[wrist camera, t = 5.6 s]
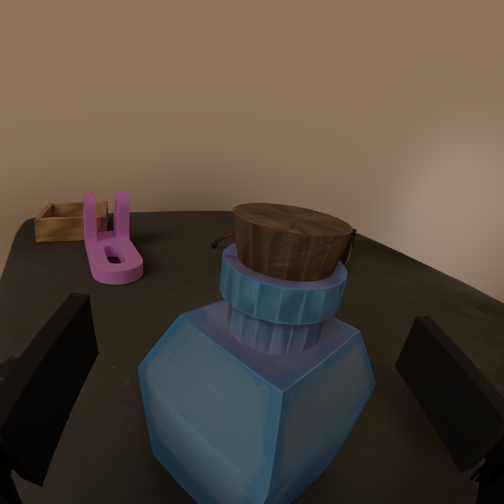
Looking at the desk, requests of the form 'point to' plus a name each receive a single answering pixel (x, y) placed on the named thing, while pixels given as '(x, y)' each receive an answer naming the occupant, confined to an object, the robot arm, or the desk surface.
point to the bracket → (111, 243)
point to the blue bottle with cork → (260, 366)
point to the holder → (67, 221)
